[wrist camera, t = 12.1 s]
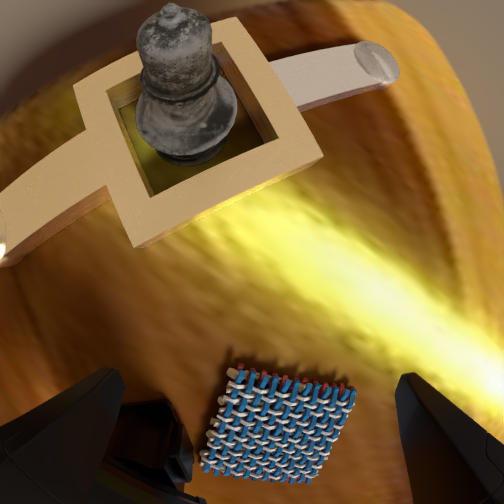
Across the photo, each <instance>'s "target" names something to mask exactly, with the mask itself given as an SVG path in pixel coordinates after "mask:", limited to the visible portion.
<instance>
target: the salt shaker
mask: <svg viewBox="0 0 504 504" xmlns="http://www.w3.org/2000/svg"><path fill="white" fill-rule="evenodd" d="M136 46H137V50H138V53H139V56H140V59H141V62H142V64H143V68H142V70H141V75H140V83H141V87H142V89H143V92H142V93H141V95H140V97H139V99H138V102H137V104H136V111H135V120H136V125H137V129H138V131H139V133H140V134H141V136H142V138H143V139H144V140H145V141H146V142H147V143H148V144H149V145H150V146H151V147H153V148H155V150H156V151H157V153H158V154H159V155H160V156H161V157H162V158H163V159H164V160H166V161H168V162H170V163H172V164H174V165H179V166H196V165H199V164H202V163H205V162H207V161H208V160H210V159H212V158H214V157H215V156H216V155H217V154H218V153H219V152H220V151H221V149H222V148H223V146H224V144H225V143H226V140H227V136H228V132H229V131H230V129H231V128H232V126H233V124H234V122H235V118H236V114H237V99H236V96H235V93H234V90H233V89H232V87H231V86H230V84H229V83H228V82H227V80H225V79H224V78H223V77H221V76H220V66H219V63H218V60H217V58H216V57H215V56H214V54H213V53H212V28H211V25H210V22H209V20H208V19H207V18H206V17H205V16H204V15H203V14H201V13H199V12H198V11H196V10H193V9H190V8H183V7H180V6H178V5H176V4H173V3H171V2H170V3H167V5H165V6H164V7H163V8H162V9H161V11H160V12H157V13H155V14H154V15H152V16H151V17H149V18H148V19H147V20H146V21H145V22H144V23H143V25H142V26H141V27H140V29H139V31H138V33H137V37H136Z"/></svg>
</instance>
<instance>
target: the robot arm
mask: <svg viewBox="0 0 504 504" xmlns="http://www.w3.org/2000/svg"><path fill="white" fill-rule="evenodd" d="M124 392H125V384H124V382H123V380H122V378H121V375H120V373H119V371H118V369H117V368H115V367H110V366H105V367H103V368H101V369H100V370H98V371H96V372H95V373H93V374H91V375H90V376H88V377H86V378H85V379H83V380H81V381H80V382H78V383H76V384H75V385H73V386H71V387H70V388H68V389H66V390H65V391H63V392H61V393H60V394H58V395H56V396H54V397H53V398H51V399H49V400H48V401H46V402H44V403H42V404H41V405H39V406H37V407H36V408H34V409H32V410H30V411H29V412H27V413H25V414H23V415H22V416H20V417H18V418H16V419H14V420H12V421H11V422H8V423H6V424H4V425H2V426H0V504H207V503H206V500H205V499H203V498H200V497H198V496H197V497H194V496H191V495H189V494H186V493H184V484H185V483H190V482H191V480H192V468H193V463H194V456H193V445H192V443H191V441H190V438H189V436H188V434H187V431H186V429H185V427H184V424H182V423H181V422H178V420H177V417H176V415H175V412H174V410H173V407H172V405H171V403H170V401H168V400H166V399H159V400H152V401H144V402H136V403H127V404H121V402H122V399H123V395H124ZM395 402H396V408H397V416H398V423H399V432H400V439H401V444H402V448H403V452H404V457H405V461H406V466H407V471H408V475H409V480H410V486H411V491H412V497H413V502H414V504H504V444H502V443H501V442H500V441H499V440H497V439H496V438H495V437H494V436H492V435H491V434H490V433H487V431H486V430H485V429H484V428H483V427H481V426H480V425H479V424H478V423H476V422H475V421H474V420H473V419H472V418H470V417H469V416H468V415H467V414H466V413H464V412H463V411H462V410H461V409H459V408H458V407H457V406H456V405H455V404H453V403H452V402H451V401H450V400H448V399H447V398H446V397H445V396H444V395H442V394H441V393H440V392H439V391H437V390H436V389H435V388H434V387H433V386H431V385H430V384H429V383H428V382H426V381H425V380H424V379H423V378H422V377H420V376H419V375H418V374H417V373H415V372H409V373H404V374H402V375H401V377H400V380H399V383H398V386H397V388H396V391H395ZM162 404H164V405H166V406H167V407H166V408H165V407H162V406H161V405H162Z"/></svg>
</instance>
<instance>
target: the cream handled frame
mask: <svg viewBox="0 0 504 504" xmlns="http://www.w3.org/2000/svg"><path fill="white" fill-rule="evenodd" d="M215 57H216V58H217V60H218V63H219V65H220V67H221V68H222V70H223V72H224V73H225V75H226V77H227V78H228V80H229V82H230V83H231V85H232V87H233V89H234V90H235V92H236V94H237V95H238V97H239V99H240V101H241V102H242V104H243V106H244V108H245V109H246V111H247V113H248V115H249V117H250V118H251V120H252V122H253V124H254V126H255V127H256V129H257V131H258V133H259V135H260V136H261V138H262V140H263V142H264V144H266V143H269V142H271V140H270V138H269V136H268V134H267V132H266V131H265V129H264V127H263V125H262V123H261V122H260V120H259V118H258V116H257V114H256V113H255V111H254V109H253V107H252V106H251V104H250V102H249V101H248V99H247V97H246V95H245V94H244V92H243V90H242V89H241V87H240V85H239V84H238V82H237V80H236V79H235V77H234V75H233V74H232V72H231V70H230V69H229V67H228V65H227V64H226V62H225V61H224V59H223V57H222V56H221V54H218V55H215ZM269 64H270V65H271V67H272V68H273V70H274V72H275V73H276V75H277V76H278V78H279V79H280V81H281V82H282V84H283V86H284V87H285V89H286V90H287V92H288V94H289V95H290V97H291V99H292V100H293V102H294V104H295V105H296V107H297V109H298V110H299V112H302V111H305V110H308V109H311V108H314V107H317V106H320V105H323V104H326V103H330V102H333V101H336V100H339V99H343V98H346V97H350V96H353V95H357V94H360V93H364V92H368V91H372V90H384V89H386V88H388V87H389V86H390V85H391V84H392V83H394V82H395V81H396V80H397V79H398V78H399V75H400V69H399V66H398V63H397V61H396V60H395V58H394V57H393V55H392V54H391V53H390V52H389V51H388V50H387V49H385V48H384V47H382V46H381V45H379V44H377V43H374V42H371V41H361V42H359V43H357V44H352V45H345V46H339V47H333V48H328V49H322V50H317V51H313V52H308V53H303V54H299V55H295V56H291V57H287V58H283V59H279V60H275V61H272V62H269ZM142 92H143V89H142V87H141V86H139V87H137V88H135V89H133V90H131V91H129V92H127V93H125V94H123V95H121V96H120V97H118V98H116V99H114V100H112V101H113V103H114V106H115V109H116V111H117V114H118V116H119V119H120V121H121V124H122V126H123V129H124V131H125V134H126V136H127V139H128V141H129V144H130V146H131V148H132V151H133V153H134V156H135V158H136V160H137V163H138V165H139V167H140V170H141V172H142V174H143V176H144V179H145V181H146V183H147V185H148V188H149V190H150V192H151V194H152V196H155V195H154V192H153V190H152V188H151V186H150V184H149V181H148V179H147V177H146V175H145V172H144V170H143V168H142V165H141V163H140V161H139V159H138V156H137V154H136V151H135V149H134V147H133V144H132V142H131V140H130V137H129V135H128V132H127V130H126V127H125V125H124V122H123V120H122V117H121V115H120V112H119V110H118V109H120V108H122V107H124V106H125V105H127V104H129V103H131V102H133V101H135V100H137V99H139V97H140V95H141V93H142ZM313 164H314V163H313ZM313 164H311V165H309V166H306V167H304V168H302V169H300V170H297V171H295V172H293V173H291V174H288V175H286V176H284V177H282V178H279V179H277V180H275V181H273V182H271V183H268V184H266V185H264V186H262V187H260V188H258V189H256V190H253V191H251V192H249V193H247V194H245V195H243V196H241V197H239V198H236V199H234V200H232V201H230V202H228V203H226V204H224V205H222V206H220V207H218V208H216V209H214V210H212V211H210V212H208V213H206V214H204V215H202V216H200V217H198V218H196V219H194V220H192V221H190V222H188V223H186V224H184V225H182V226H180V227H178V228H176V229H174V230H172V231H171V232H169V233H167V234H165V235H163V236H161V237H159V238H157V239H155V240H153V241H152V242H150V243H148V244H146V245H144V246H142V247H140V248H145V247H147V246H149V245H151V244H153V243H155V242H157V241H159V240H161V239H162V238H164V237H166V236H168V235H170V234H172V233H174V232H176V231H178V230H180V229H182V228H184V227H186V226H188V225H189V224H191V223H193V222H195V221H197V220H199V219H201V218H203V217H205V216H207V215H209V214H211V213H213V212H215V211H217V210H219V209H221V208H224V207H226V206H228V205H230V204H232V203H234V202H236V201H238V200H240V199H242V198H244V197H246V196H248V195H251V194H253V193H255V192H257V191H259V190H261V189H263V188H266V187H268V186H270V185H272V184H274V183H276V182H279V181H281V180H283V179H285V178H287V177H290V176H292V175H294V174H296V173H299V172H301V171H303V170H305V169H308V168H309V167H310V166H312V165H313Z"/></svg>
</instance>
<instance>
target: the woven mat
mask: <svg viewBox="0 0 504 504" xmlns="http://www.w3.org/2000/svg"><path fill="white" fill-rule="evenodd" d="M243 368H244V364H242V363H239V364H238V366H237V368H236V369H233V368H229V369H228V370H227V372H226V373H227V375H228V376H229V377H231V378H232V379H233V382H231V381H229V383H228V384H227V387H226V393H229V395H228V396H226V395H223V396H219V397H218V403H219V404H220V405H225V407H224V408H219V411H218V413H220V414H221V416H220V415H219V414H218V415H217V417H218V418H219V419H220V420H219V419H215V418H211V421H210V424H211V425H214V427H217V428H216V429H215V431H212V430H210V429H209V430H208V431H207V432H206V436H207V437H208V438H209V440H208V443H207V445H208V446H210V449H209V450H205V449H204V450H201V451H200V453H199V455H200V456H201V457H202V458H201V462H200V466H203V468H202V471H203V472H206V473H208V471H209V470H210V468H213V469H212V473H214V475H215V476H218V475H219V471H221V473H222V474H223V476H228V475H229V474H230V472H231V473H232V474H231V476H233V478H237V479H238V475H240V477H242V478H243V479H247V478H248V477H250V478H251V479H252V480H253V481H257V478H259V479H260V480H262V481H265V480H267V479H268V480H270V482H275V480H277V479H279V482H284V481H287V482H288V483H289V484H293V482H294V481H296V483H300V482H305V483H306V484H310V481H311V479H312V478H313V477H315V476H317V475H318V474H316V473H318V470H317V468H322V465H320V464H321V463H322V462H323V461H324V460H327V459H328V457H325V455H329V454H330V452H329V451H330V449H332V447H333V446H331V444H332V442H334V441H335V440H337V439H338V438H336V437H337V436H338V434H340V432H339V429H340V428H342V427H343V426H341V425H342V424H343V423H344V422H345V421H346V418H347V417H348V415H347V413H348V412H350V411H351V410H352V409H351V408H352V406H353V405H354V404H355V403H354V399H355V394H356V392H357V391H356V389H355V387H354V386H350V388H349V389H344V387H345V384H343V383H341V384H340V387H337V384H335V383H332V385H331V387H330V386H328V383H327V382H323V384H322V385H320V384H318V383H319V382H318V381H313V383H307V382H308V378H306V377H304V378H303V379H302V380H301V381H300V380H299V378H297V377H294V378H293V380H290V379H288V375H284V374H283V376H282V378H280V377H279V376H278V374H277V373H272V376H270V375H267V371H265V370H262V372H261V373H256V369H255V368H250V370H249V371H248V370H244V371H243ZM242 380H246V382H245V384H244V385H240V383H241V381H242ZM254 381H257V383H256V385H255V386H254V387H253V385H254ZM267 383H268V386H267V389H265V390H263V389H264V387H265V386H266V384H267ZM277 385H278V389H277V391H276V387H277ZM288 388H289V390H288ZM287 390H288V392H287V394H285V393H286V391H287ZM238 394H239V395H240V398H236V397H237V396H238ZM307 394H308V395H307ZM306 396H307V397H306ZM248 398H250V399H248ZM261 399H262V401H261ZM233 405H237V406H236V407H235V408H234V410H233V409H232V408H233ZM245 408H247V411H246V412H243V411H244V409H245ZM255 411H258V412H257V414H255ZM267 412H268V414H267V416H265V415H266V413H267ZM287 417H288V418H287ZM286 418H287V419H286ZM251 421H253V422H251ZM239 423H242V424H239ZM272 424H274V425H273V426H271V425H272ZM225 429H228V431H227V432H224V430H225ZM235 431H238V434H235ZM295 431H296V432H295ZM246 435H248V436H246ZM277 436H278V437H277ZM232 440H235V441H234V442H231V441H232ZM243 442H245V443H243ZM216 449H220V452H218V451H216ZM258 454H260V455H258ZM205 457H206V458H205ZM214 457H217V459H216V460H213V459H214ZM277 457H278V458H277ZM224 459H226V460H225V461H224ZM235 461H236V463H235V464H233V463H234V462H235ZM244 462H246V464H244ZM240 471H242V472H240ZM260 473H261V474H260ZM258 474H259V475H258ZM299 477H300V478H299Z"/></svg>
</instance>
